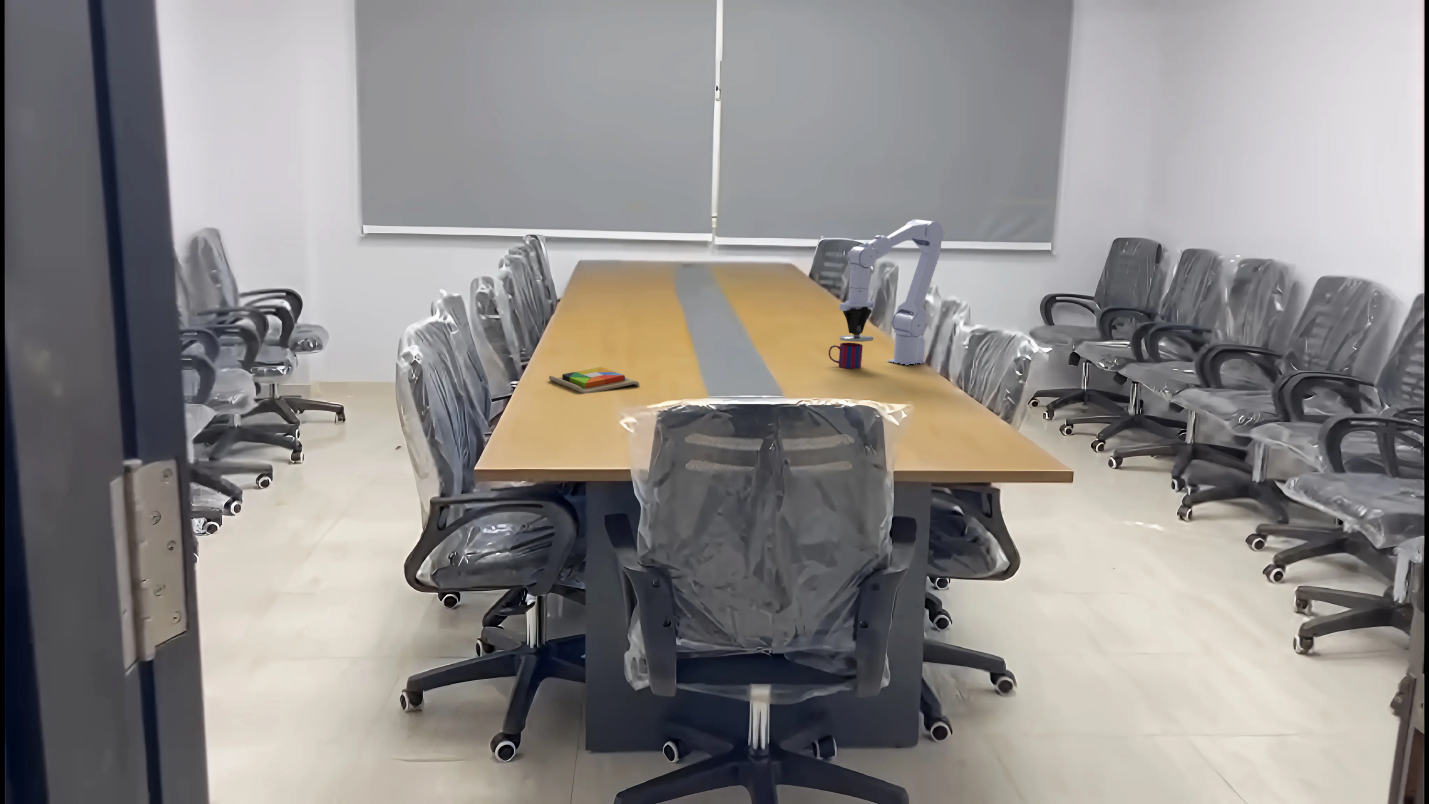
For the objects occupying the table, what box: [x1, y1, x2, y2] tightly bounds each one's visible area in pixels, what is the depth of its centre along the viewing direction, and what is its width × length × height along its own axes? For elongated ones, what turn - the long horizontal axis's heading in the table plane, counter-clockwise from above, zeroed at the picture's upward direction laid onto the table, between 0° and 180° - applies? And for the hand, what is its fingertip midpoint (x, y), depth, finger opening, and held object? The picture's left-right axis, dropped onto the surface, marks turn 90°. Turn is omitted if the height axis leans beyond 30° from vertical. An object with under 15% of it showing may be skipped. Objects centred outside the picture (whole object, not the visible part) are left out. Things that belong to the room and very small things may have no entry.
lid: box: [839, 325, 874, 343], centre depth 324 cm, size 10×10×4 cm
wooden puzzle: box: [548, 366, 640, 394], centre depth 290 cm, size 18×19×4 cm
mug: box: [828, 342, 864, 370], centre depth 327 cm, size 7×10×7 cm
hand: (855, 333), depth 324 cm, fingers closed on lid, 3 cm apart
